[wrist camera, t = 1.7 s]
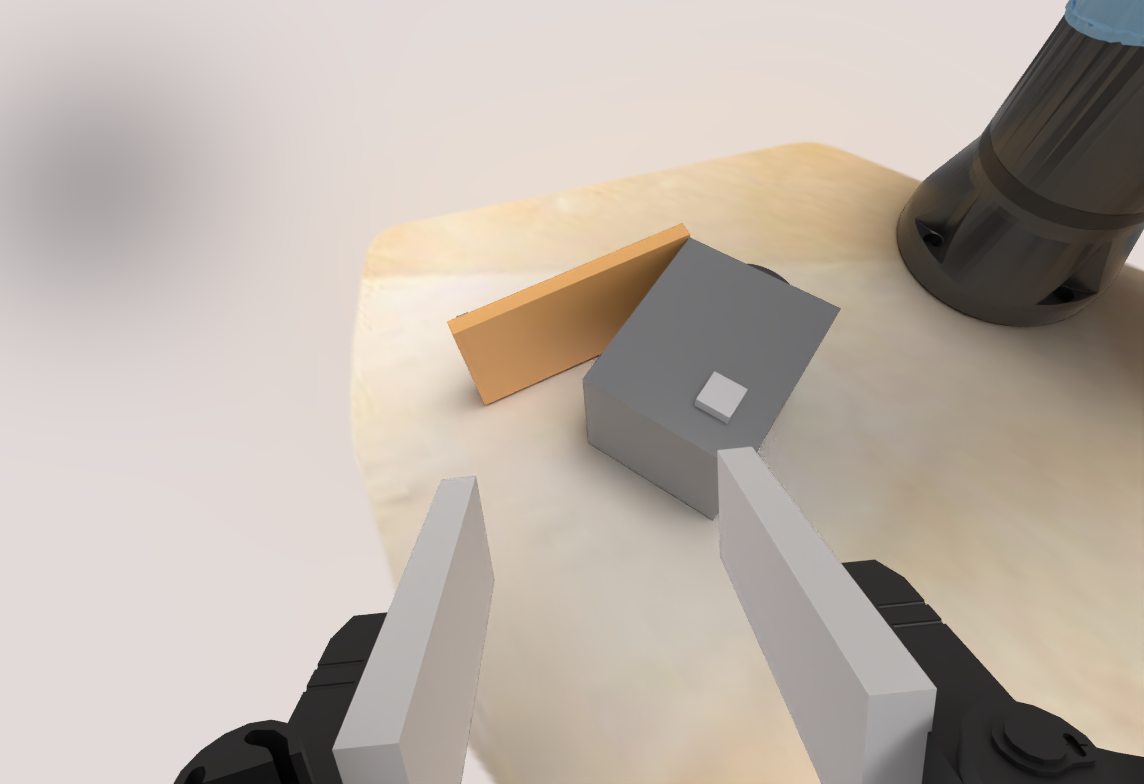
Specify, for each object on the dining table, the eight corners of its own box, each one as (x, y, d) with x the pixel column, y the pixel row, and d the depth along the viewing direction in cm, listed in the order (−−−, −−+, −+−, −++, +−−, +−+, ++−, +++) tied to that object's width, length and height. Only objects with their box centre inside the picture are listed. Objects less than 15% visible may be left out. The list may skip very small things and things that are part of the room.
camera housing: (690, 300, 47) (711, 202, 37) (807, 360, 44) (863, 270, 34) (588, 442, 42) (581, 372, 32) (712, 520, 39) (746, 468, 29)
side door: (663, 304, 46) (675, 214, 37) (674, 321, 46) (690, 234, 37) (476, 386, 44) (442, 311, 35) (485, 405, 43) (452, 334, 34)
